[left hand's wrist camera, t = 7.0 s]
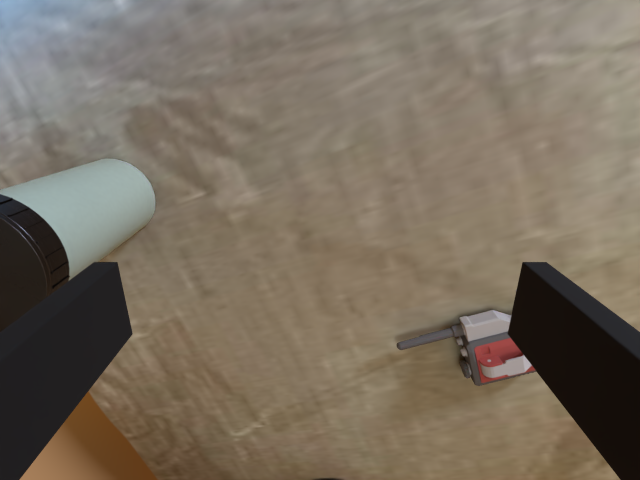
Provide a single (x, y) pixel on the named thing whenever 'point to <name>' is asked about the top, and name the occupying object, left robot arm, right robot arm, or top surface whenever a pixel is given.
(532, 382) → the top surface
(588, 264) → the top surface
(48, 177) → the jar
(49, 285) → the lid
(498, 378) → the walkie-talkie
